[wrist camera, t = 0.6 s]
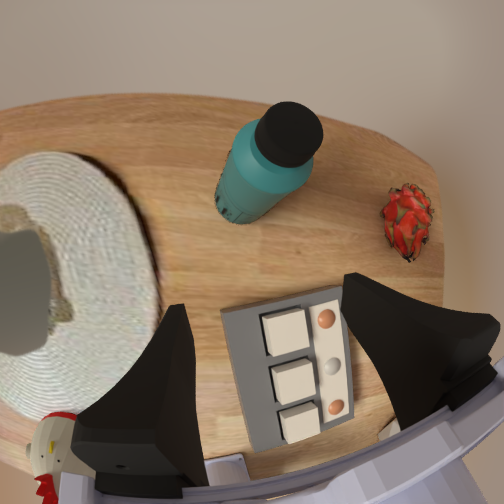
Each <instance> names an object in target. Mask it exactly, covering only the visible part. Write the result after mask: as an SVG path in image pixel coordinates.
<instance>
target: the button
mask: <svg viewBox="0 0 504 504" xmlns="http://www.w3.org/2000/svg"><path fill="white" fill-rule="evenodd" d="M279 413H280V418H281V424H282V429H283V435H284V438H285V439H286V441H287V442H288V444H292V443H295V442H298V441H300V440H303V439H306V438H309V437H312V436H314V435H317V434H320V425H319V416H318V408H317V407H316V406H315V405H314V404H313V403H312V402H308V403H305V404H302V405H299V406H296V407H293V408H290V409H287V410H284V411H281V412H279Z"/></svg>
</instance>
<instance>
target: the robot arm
mask: <svg viewBox="0 0 504 504" xmlns="http://www.w3.org/2000/svg"><path fill="white" fill-rule="evenodd" d="M340 310H341V313H342V315H343V317H344V319H345V321H346V323H347V325H348V327H349V328H350V330H351V331H352V333H353V334H354V336H355V337H356V339H357V340H358V342H359V343H360V345H361V346H362V348H363V349H364V350H365V352H366V353H367V355H368V356H369V358H370V359H371V361H372V363H373V364H374V366H375V368H376V370H377V372H378V374H379V376H380V378H381V380H382V382H383V384H384V386H385V389H386V391H387V393H388V396H389V398H390V401H391V403H392V406H393V409H394V411H395V414H396V417H397V421H398V424H399V427H400V431H401V432H399V433H397V434H395V435H393V436H391V437H388V438H386V439H384V440H382V441H380V442H378V443H375V444H373V445H371V446H368V447H366V448H363V449H361V450H359V451H356V452H353V453H351V454H348V455H346V456H343V457H340V458H337V459H334V460H331V461H328V462H325V463H322V464H319V465H316V466H312V467H309V468H306V469H302V470H298V471H294V472H290V473H286V474H282V475H278V476H273V477H269V478H264V479H258V480H253V481H251V480H250V477H249V474H248V471H247V468H246V464H245V461H244V458H243V455H242V454H241V453H238V454H234V455H229V456H225V457H220V458H214V459H209V460H204V457H203V452H202V447H201V441H200V434H199V428H198V421H197V413H196V356H195V346H194V338H193V335H192V331H191V328H190V324H189V320H188V317H187V313H186V309H185V306H184V303H183V304H176V305H170V306H169V307H168V309H167V311H166V313H165V315H164V317H163V319H162V321H161V323H160V325H159V327H158V328H157V330H156V332H155V334H154V335H153V337H152V339H151V340H150V342H149V343H148V345H147V347H146V348H145V350H144V351H143V353H142V354H141V356H140V357H139V358H138V360H137V361H136V362H135V364H134V365H133V366H132V367H131V369H130V370H129V371H128V372H127V373H126V374H125V375H124V376H123V377H122V379H121V380H120V381H119V382H118V383H117V384H116V385H115V386H114V387H113V388H112V389H111V390H109V391H108V392H107V393H106V394H105V395H104V396H103V397H101V398H100V399H99V400H98V401H96V402H95V403H94V404H92V405H91V406H90V407H88V408H87V409H85V410H84V411H83V412H81V413H80V414H78V415H77V417H76V420H75V424H74V428H73V434H72V440H71V446H70V449H71V451H72V452H73V454H74V455H75V456H76V457H77V458H78V459H80V460H81V461H82V462H84V463H85V464H86V465H88V466H89V467H90V468H92V469H93V470H95V471H96V475H95V478H93V477H90V476H86V475H81V474H76V473H70V472H65V471H63V472H62V473H61V481H60V490H59V501H58V504H488V503H487V501H486V499H485V498H484V496H483V494H482V493H481V491H480V489H479V487H478V485H477V484H476V482H475V480H474V479H473V477H472V475H471V473H470V472H469V470H468V469H467V467H466V465H465V464H464V462H463V460H462V459H461V458H462V457H464V456H465V455H466V454H468V453H469V452H470V451H471V450H472V449H474V448H475V447H476V446H477V445H478V444H480V443H481V442H482V441H483V440H484V439H485V438H486V437H487V436H489V435H490V434H491V433H492V432H493V431H494V430H495V429H496V428H497V427H498V426H499V425H500V424H501V423H502V422H503V421H504V356H503V357H502V358H501V359H500V360H499V361H498V362H497V363H496V364H495V365H494V366H493V367H492V365H491V364H490V362H491V360H492V359H491V357H490V356H489V355H488V353H489V352H490V350H491V348H492V346H493V345H494V343H495V341H496V339H497V337H498V334H499V332H500V323H499V322H498V321H497V320H496V319H495V318H494V317H493V316H491V315H490V314H484V313H483V314H482V313H468V312H462V311H455V310H450V309H446V308H442V307H438V306H434V305H431V304H428V303H425V302H422V301H419V300H416V299H413V298H411V297H409V296H406V295H404V294H401V293H399V292H397V291H395V290H393V289H391V288H389V287H386V286H384V285H382V284H380V283H378V282H376V281H374V280H372V279H370V278H368V277H366V276H364V275H361V274H359V273H356V272H355V273H350V274H345V275H344V283H343V292H342V300H341V308H340ZM239 458H241V459H239ZM295 492H296V493H295ZM291 493H293V494H291ZM287 494H290V495H287ZM283 495H286V496H283ZM278 496H283V497H279V498H276V499H272V500H266V499H269V498H273V497H278Z"/></svg>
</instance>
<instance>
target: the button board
mask: <svg viewBox="0 0 504 504" xmlns="http://www.w3.org/2000/svg"><path fill="white" fill-rule="evenodd" d="M342 292H343V291H342V286H335V285H329V286H325V287H321V288H317V289H313V290H309V291H305V292H300V293H296V294H292V295H288V296H283V297H279V298H274V299H270V300H265V301H261V302H256V303H251V304H247V305H242V306H237V307H232V308H227V309H222V310H220V313H221V318H222V323H223V328H224V333H225V338H226V343H227V347H228V352H229V357H230V361H231V366H232V370H233V375H234V379H235V384H236V388H237V392H238V396H239V401H240V405H241V409H242V413H243V417H244V421H245V425H246V429H247V433H248V437H249V441H250V443H251V446H252V448H253V450H254V453H258V452H262V451H265V450H269V449H272V448H276V447H279V446H282V445H285V444H288V442H287V441H286V439H285V438H284V435H283V429H282V424H281V418H280V413H279V412H281V411H284V410H287V409H290V408H293V407H296V406H299V405H302V404H305V403H308V402H312V403H313V404H314V405H315V406H316V407H317V408H318V416H319V425H320V432H322V431H325V430H327V429H330V428H332V427H334V426H337V425H339V424H342V423H344V422H346V421H348V420H351V419H353V418H354V401H353V384H352V370H351V359H350V348H349V339H348V330H347V323H346V321H345V319H344V317H343V315H342V313H341V310H340V308H341V300H342ZM295 308H299V309H303V310H304V312H305V319H306V325H307V332H308V338H309V345H310V346H309V347H306V348H303V349H300V350H296V351H293V352H289V353H286V354H282V355H278V356H275V357H273V356H272V355H271V354H270V353H269V352H268V347H267V342H266V336H265V331H264V325H263V320H262V316H266V315H270V314H275V313H279V312H283V311H287V310H291V309H295ZM304 358H306V359H307V360H309V361H310V362H312V367H313V374H314V382H315V390H316V394H315V395H312V396H309V397H306V398H303V399H300V400H297V401H294V402H291V403H288V404H284V405H282V404H281V403H280V402H279V401H278V399H277V396H276V391H275V386H274V380H273V375H272V369H271V368H273V367H277V366H280V365H284V364H287V363H291V362H294V361H298V360H301V359H304Z"/></svg>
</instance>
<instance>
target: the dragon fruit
mask: <svg viewBox="0 0 504 504" xmlns="http://www.w3.org/2000/svg"><path fill="white" fill-rule="evenodd" d="M408 184H409V183H407V184H404V185H403V186H402V190H399V189H394V188H391V189H390V191H389V192H388V193H389V195H390V198H391V201H390V202H389V204H388V205H387V206H386V207H385V208H383V209H382V211H381V212H380V216H381V217H382V218H384V217H385V233H386V234H385V237H386V239H387V241H388V243H389V246H391V247H392V246H393V247H394V248H395V249H396V250H397V251H398V252H399V254H400V255H401V256H402V257H403V258H404V259H406V260H407V261H408V262H409V263H410V262H411V261H410V259H409V258H413V261H414V260H415V259H416V258H417V257H418V256H419V253H420V248H421V242H422V243H424V245H425V244H426V241H428V240H429V232H428V227H429V226H430V225H431V224H430V222H431V221H432V218H433V217H432V215H431V213H434V209H429V206H430V205H431V200H430V198H429V197H426V196H425V193H424V192H423V191H422V189H419V187H418V185H411V186H410V188H409V186H408ZM424 236H427V238H423V237H424ZM411 252H412V253H411ZM410 254H411V255H410ZM405 255H407V256H405Z"/></svg>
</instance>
